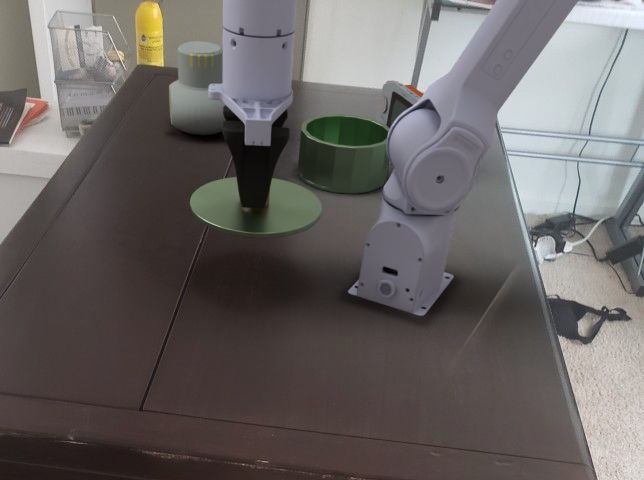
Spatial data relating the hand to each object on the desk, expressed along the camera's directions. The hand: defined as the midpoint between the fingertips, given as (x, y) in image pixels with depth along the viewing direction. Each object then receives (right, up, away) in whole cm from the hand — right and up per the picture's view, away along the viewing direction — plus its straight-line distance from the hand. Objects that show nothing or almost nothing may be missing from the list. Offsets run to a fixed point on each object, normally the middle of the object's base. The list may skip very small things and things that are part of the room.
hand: (252, 199), depth 68 cm
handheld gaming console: (+20, +19, +32) cm, 42 cm away
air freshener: (-8, +24, +35) cm, 43 cm away
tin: (+11, +14, +26) cm, 32 cm away
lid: (0, -1, +1) cm, 1 cm away
